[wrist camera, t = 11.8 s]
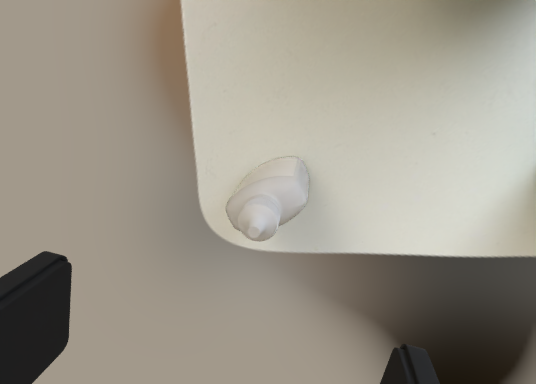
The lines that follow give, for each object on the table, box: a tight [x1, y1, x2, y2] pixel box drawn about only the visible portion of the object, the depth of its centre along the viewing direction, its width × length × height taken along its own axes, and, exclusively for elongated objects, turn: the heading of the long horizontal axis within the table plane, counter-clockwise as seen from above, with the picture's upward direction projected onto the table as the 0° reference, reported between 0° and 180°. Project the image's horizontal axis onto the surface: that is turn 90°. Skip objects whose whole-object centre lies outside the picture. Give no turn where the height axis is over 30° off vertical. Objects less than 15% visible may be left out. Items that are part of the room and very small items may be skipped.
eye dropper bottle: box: [226, 157, 309, 241], centre depth 26 cm, size 4×6×12 cm
